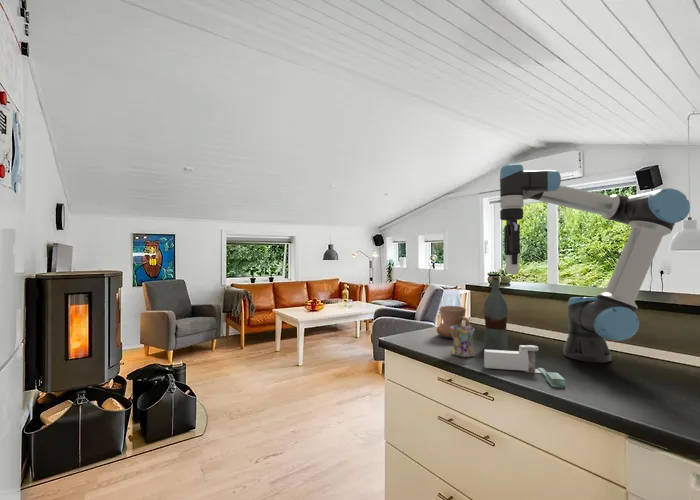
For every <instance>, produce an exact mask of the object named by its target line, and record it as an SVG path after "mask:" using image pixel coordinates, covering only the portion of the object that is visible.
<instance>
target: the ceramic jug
mask: <svg viewBox="0 0 700 500" xmlns="http://www.w3.org/2000/svg"><path fill="white" fill-rule="evenodd" d="M466 310H467V308H466V307H464V306H459V305H444V306H443V305H442V306H439V312H438V314H439V315H440V317H441V320H442V323H441V324H440V325H438V326H437V328H436V332H437V334H438V335H439V336H440V337H442V338H445V339H451V340H453V338H452V335H451V329H450V327H452V326H468V327H470V320H469V318H468V317H467V316H465V315H466V313H467V311H466ZM463 321H464V322H465V325H464V324H462V323H463Z"/></svg>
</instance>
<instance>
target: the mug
mask: <svg viewBox="0 0 700 500" xmlns="http://www.w3.org/2000/svg"><path fill="white" fill-rule="evenodd" d="M450 329H451V335H452V338H453V339H452V340H453V341H452V342H453V346H452V349H451V351H450V353H451V354H452V355H453V356H456V357H460V358H471V357H473V356H474V354H475V353H474V351H473V348H472V347H473V346H472V341H473V335H474V332H475V330H476V329H475V328H474V327H471V326H469V327H468V326H465V325H464V326H452V327H450Z"/></svg>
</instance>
